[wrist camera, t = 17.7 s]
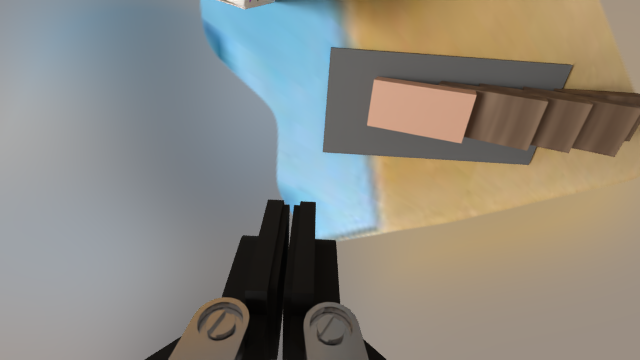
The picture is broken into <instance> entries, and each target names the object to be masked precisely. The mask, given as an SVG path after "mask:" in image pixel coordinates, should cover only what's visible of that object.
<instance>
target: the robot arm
mask: <svg viewBox="0 0 640 360" xmlns="http://www.w3.org/2000/svg"><path fill="white" fill-rule="evenodd" d="M289 213H290V205H284V200H268V202H267V206H266V210H265V213H264V217H263V221H262V225H261V229H260V233H259V236H245V235H243V236H242V238H241V240H240V243H239V246H238V249H237V252H236V255H235V258H234V262H233V264H232V268H231V270H230V274H229V277H228V280H227V283H226V286H225V289H224V292H223V295H222V298H218V299H214V300H212V301H210V302H208V303H206V304H204V305H203V306H202V307H200V308H199V310H198V311H197V312H196V313H195V315H194V316H193V318H192V319H191V321H190V323H189V325H188V326H187V328H186V330H185V332H184V333H183V335H182V336H181V337H180V338H178V339H176V340H175V341H173V342H172V343H170V344H169V345H167V346H165V347H164V348H163V349H161V350H159V351H158V352H156V353H154V354H153V355H151V356H150V357H148V358H147V359H145V360H277V356H278V348H279V340H280V331H281V323H282V314H283V360H386V359H385V358H384V357H383V356H382V355H381V354H379V353H378V352H377V351H376V350H375V349H374V348H373V347H372V346H370V345H369V344H368V343H367V342H366V341H365V340H364V339H363V337H362V334H361V330H360V327H359V323H358V321H357V319H356V317H355V315H354V314H353V313H352V312H351V310H350V309H348V308H347V307H345V306H344V305H341V304H340V295H339V281H338V264H337V249H336V241H335V240H322V239H315V215H316V202H303V201H301V202H300V205H294V211H293V219H292V227H291V236H290V243H289Z"/></svg>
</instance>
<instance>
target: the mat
mask: <svg viewBox="0 0 640 360" xmlns="http://www.w3.org/2000/svg"><path fill="white" fill-rule="evenodd" d="M572 66H573V65H567V64H554V63H540V62H526V61H512V60H498V59H485V58H471V57H457V56H443V55H429V54H415V53H402V52H388V51H374V50H360V49H346V48H333V47H331V54H330V67H329V80H328V92H327V105H326V118H325V131H324V143H323V152H328V153H344V154H360V155H377V156H393V157H409V158H426V159H442V160H458V161H475V162H491V163H507V164H524V165H529V163H530V160H531V158H532V156H533V154H534V151H535V149H536V147H537V146H532V145H530V146H529V148H528V150H527V151H526V150H522V149H517V148H512V147H508V146H503V145H499V144H494V143H489V142H485V141H480V140H476V139H471V138H466V137H463V140H462V143H456V142H451V141H446V140H440V139H435V138H430V137H425V136H420V135H414V134H409V133H404V132H399V131H393V130H388V129H383V128H378V127H372V126H367V122H368V115H369V109H370V102H371V96H372V89H373V83H374V79H375V78H376V77H378V76H379V77H386V78H392V79H399V80H406V81H413V82H420V83H426V84H433V85H438V84H439V83H440V82H441V81H447V82H453V83H459V84H466V85H472V86H478V87H479V85H480V83H482V84H488V85H495V86H501V87H508V88H514V89H520V90H522V87H530V88H536V89H543V90H549V91H554V88H558V89H562V88H563V86H564V84H565V81H566V79H567V77H568V75H569V72H570V70H571V68H572Z"/></svg>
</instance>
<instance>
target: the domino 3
mask: <svg viewBox="0 0 640 360" xmlns="http://www.w3.org/2000/svg"><path fill="white" fill-rule="evenodd" d="M479 87H484V88H491V89H497V90H503V91H509V92H516V93H522V94H528V95H534V96H540V97H546V98H547V100H548V104H547V106H546V109H545V111H544V113H543V116H542V118H541V120H540V122H539V125H538V127H537V129H536V132H535V134H534V136H533V139H532V141H531V143H530V145H532V146H537V147H542V148H547V149H551V150H556V151H561V152H566V153H569V151H570V149H571V147H572V145H573V143H574V141H575V139H576V137H577V136H578V134H579V132H580V130H581V128H582V126H583V124H584V122H585V120H586V118H587V116H588V114H589V112H590V110H591V108H592V106H593V104H592V103H591V102H590V101H589V100H584V99H578V98H571V97H565V96H558V95H552V94H546V93H539V92H533V91H527V90H520V89H514V88H508V87H501V86H495V85H488V84H482V83H480V85H479Z"/></svg>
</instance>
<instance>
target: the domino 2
mask: <svg viewBox="0 0 640 360" xmlns="http://www.w3.org/2000/svg"><path fill="white" fill-rule="evenodd" d="M438 85H440V86H447V87H453V88H460V89H467V90H474V91H476V94H477V96H476V99H475V102H474V105H473V108H472V112H471V115H470V118H469V121H468V124H467V127H466V130H465V133H464V137H466V138H471V139H476V140H480V141H485V142H489V143H494V144H499V145H503V146H508V147H512V148H517V149H522V150H526V151H527V150H528V148H529V146H530V143H531V141H532V139H533V136H534V134H535V132H536V129H537V127H538V125H539V122H540V120H541V118H542V116H543V113H544V111H545V109H546V106H547V104H548V100H547V98H546V97H540V96H534V95H528V94H522V93H516V92H509V91H503V90H497V89H491V88H484V87H478V86H472V85H466V84H459V83H453V82H447V81H441V82H440V83H439V84H438Z"/></svg>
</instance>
